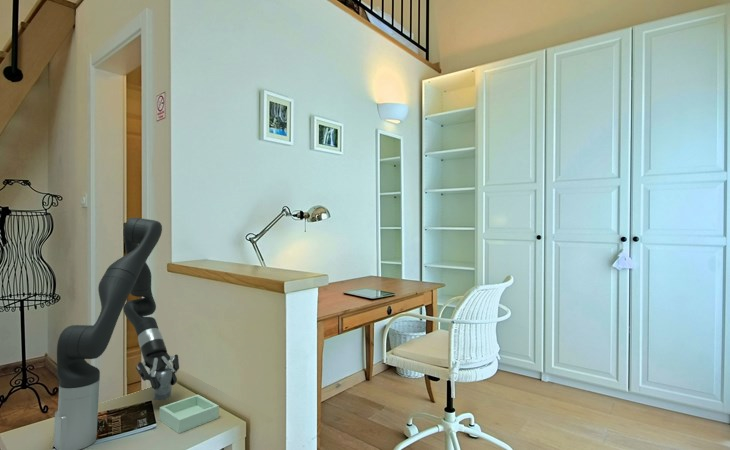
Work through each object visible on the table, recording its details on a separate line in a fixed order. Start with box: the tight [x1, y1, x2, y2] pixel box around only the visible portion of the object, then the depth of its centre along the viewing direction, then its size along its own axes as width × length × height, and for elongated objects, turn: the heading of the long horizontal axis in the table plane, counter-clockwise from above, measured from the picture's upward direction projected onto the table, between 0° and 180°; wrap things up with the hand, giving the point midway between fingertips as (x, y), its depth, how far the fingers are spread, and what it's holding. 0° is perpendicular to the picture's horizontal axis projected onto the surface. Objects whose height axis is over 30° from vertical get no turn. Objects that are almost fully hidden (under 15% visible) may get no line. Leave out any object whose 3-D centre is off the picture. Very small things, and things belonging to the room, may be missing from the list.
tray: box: [158, 394, 220, 434], centre depth 123 cm, size 13×13×4 cm
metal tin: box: [153, 368, 172, 401], centre depth 131 cm, size 5×5×9 cm
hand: (165, 385), depth 130 cm, fingers closed on metal tin, 5 cm apart
